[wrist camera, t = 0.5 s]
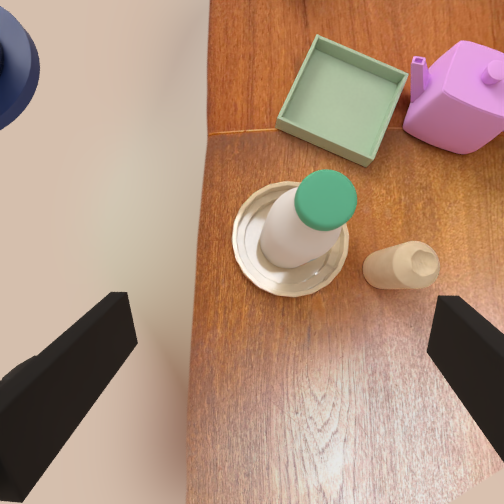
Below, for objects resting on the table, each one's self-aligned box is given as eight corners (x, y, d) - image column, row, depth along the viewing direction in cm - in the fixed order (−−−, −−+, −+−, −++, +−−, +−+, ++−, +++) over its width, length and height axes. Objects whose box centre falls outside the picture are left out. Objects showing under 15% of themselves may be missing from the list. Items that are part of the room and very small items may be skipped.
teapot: (374, 124, 44) (413, 75, 34) (396, 68, 46) (439, 5, 36) (483, 169, 44) (555, 133, 34) (502, 111, 46) (577, 59, 35)
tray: (275, 127, 44) (277, 118, 41) (312, 47, 46) (316, 34, 43) (366, 167, 44) (373, 160, 41) (399, 85, 46) (409, 73, 43)
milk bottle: (275, 278, 40) (308, 267, 21) (249, 230, 41) (257, 175, 21) (323, 253, 41) (399, 218, 21) (297, 206, 42) (346, 131, 22)
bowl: (215, 268, 41) (212, 266, 37) (259, 175, 43) (261, 163, 39) (314, 313, 40) (322, 316, 36) (353, 217, 42) (365, 209, 38)
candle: (369, 294, 41) (410, 295, 31) (356, 257, 42) (392, 246, 32) (405, 282, 41) (456, 280, 32) (391, 246, 42) (438, 232, 32)
